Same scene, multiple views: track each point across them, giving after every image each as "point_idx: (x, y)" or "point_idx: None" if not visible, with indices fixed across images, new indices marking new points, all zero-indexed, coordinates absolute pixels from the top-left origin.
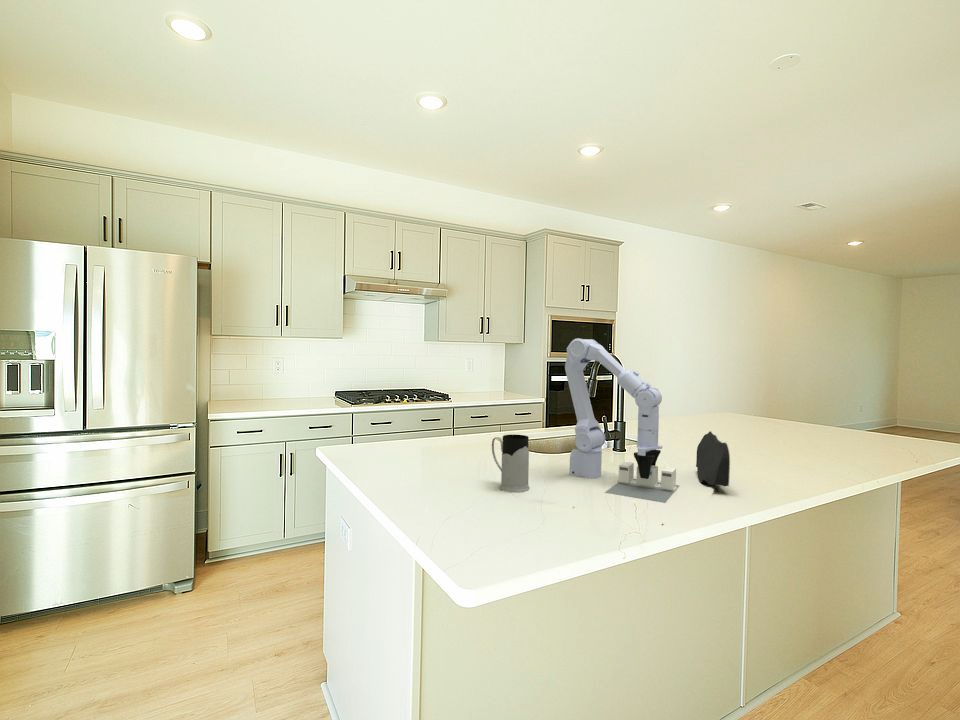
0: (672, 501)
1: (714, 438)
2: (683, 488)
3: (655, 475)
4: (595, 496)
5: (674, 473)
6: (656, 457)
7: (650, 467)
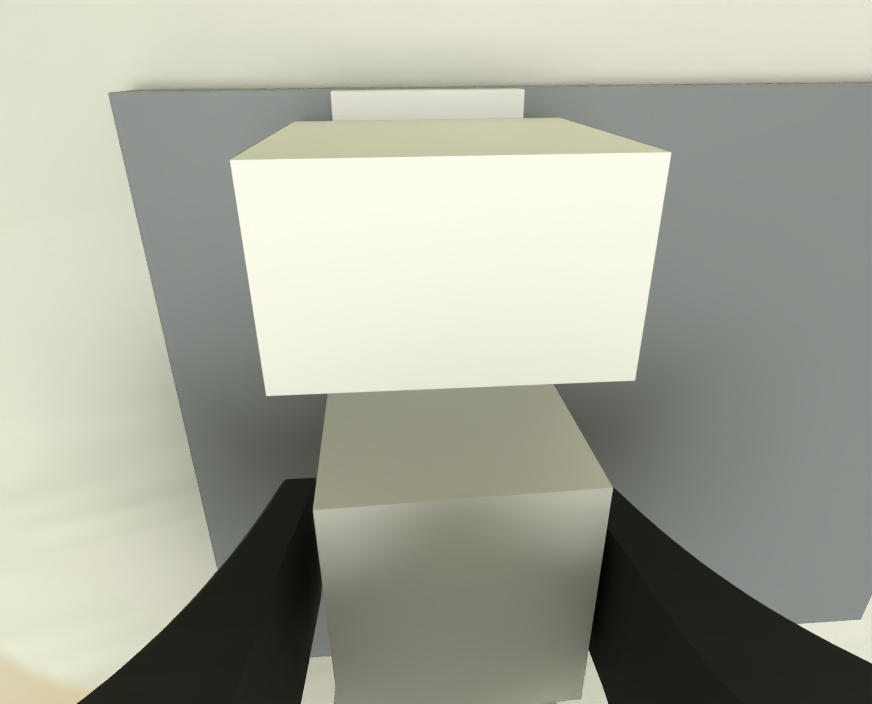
0: (758, 56)
1: None
2: (12, 53)
3: (500, 422)
4: (844, 630)
5: (418, 146)
6: (240, 697)
7: (656, 563)
